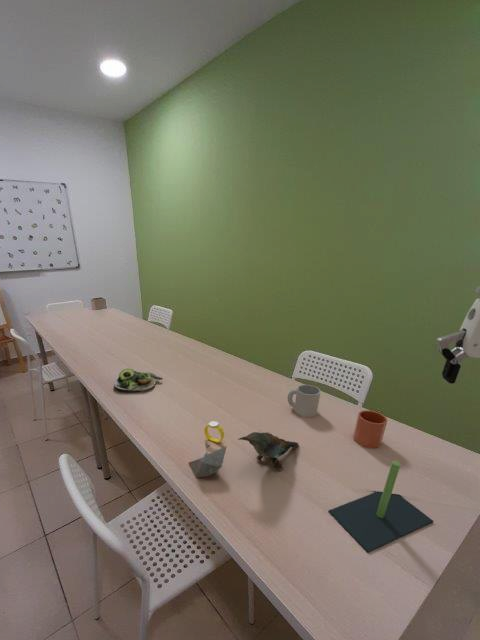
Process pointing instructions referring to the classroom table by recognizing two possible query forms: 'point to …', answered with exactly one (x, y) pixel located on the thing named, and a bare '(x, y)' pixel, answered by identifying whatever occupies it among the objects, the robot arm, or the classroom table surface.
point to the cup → (305, 400)
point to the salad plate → (135, 381)
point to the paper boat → (208, 463)
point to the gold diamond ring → (214, 425)
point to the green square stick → (388, 489)
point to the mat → (379, 520)
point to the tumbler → (369, 429)
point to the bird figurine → (269, 446)
